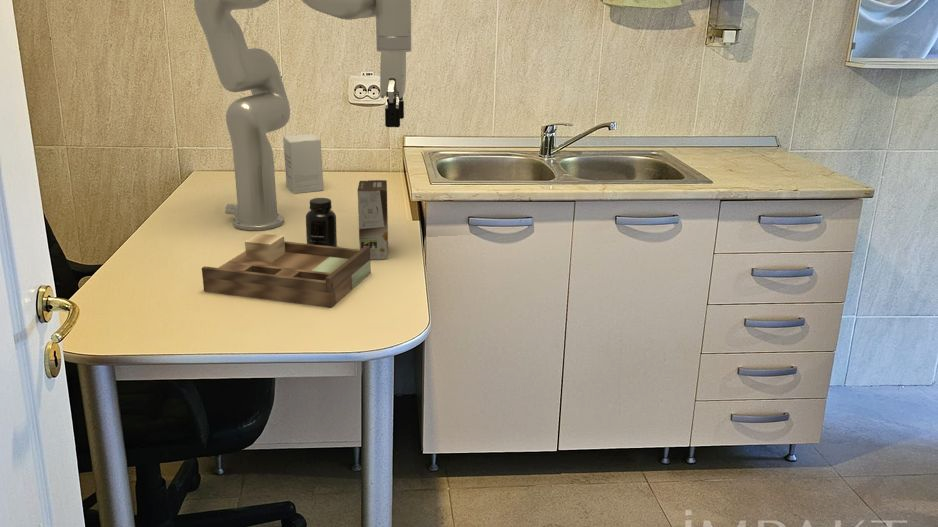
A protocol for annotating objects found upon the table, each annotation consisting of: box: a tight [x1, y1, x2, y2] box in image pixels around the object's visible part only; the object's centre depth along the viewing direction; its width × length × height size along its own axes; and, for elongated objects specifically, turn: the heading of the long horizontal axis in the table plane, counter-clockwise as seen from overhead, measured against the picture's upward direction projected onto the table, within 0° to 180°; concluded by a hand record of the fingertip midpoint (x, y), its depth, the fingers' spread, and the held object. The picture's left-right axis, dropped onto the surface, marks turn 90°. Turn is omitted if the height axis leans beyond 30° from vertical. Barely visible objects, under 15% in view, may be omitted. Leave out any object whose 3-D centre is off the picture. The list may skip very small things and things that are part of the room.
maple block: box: [244, 232, 286, 262], centre depth 185 cm, size 6×6×4 cm
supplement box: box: [282, 133, 325, 195], centre depth 247 cm, size 9×9×15 cm
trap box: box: [201, 240, 372, 308], centre depth 179 cm, size 28×20×6 cm
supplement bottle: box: [305, 197, 338, 247], centre depth 197 cm, size 7×7×12 cm
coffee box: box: [357, 179, 389, 260], centre depth 195 cm, size 9×6×16 cm
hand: (394, 122), depth 193 cm, fingers open, 9 cm apart
